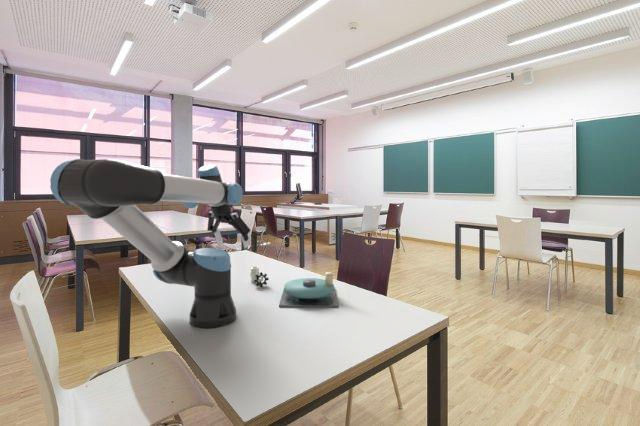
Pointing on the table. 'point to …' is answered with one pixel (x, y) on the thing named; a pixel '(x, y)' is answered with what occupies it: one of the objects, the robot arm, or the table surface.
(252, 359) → the table surface
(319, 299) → the wheel stand
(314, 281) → the handwheel
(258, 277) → the valve
